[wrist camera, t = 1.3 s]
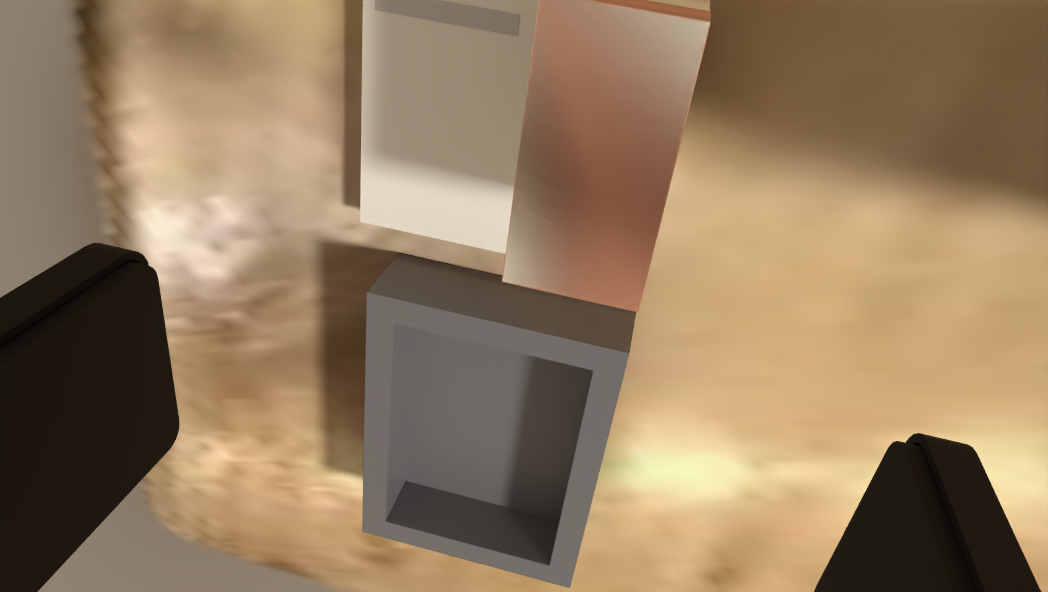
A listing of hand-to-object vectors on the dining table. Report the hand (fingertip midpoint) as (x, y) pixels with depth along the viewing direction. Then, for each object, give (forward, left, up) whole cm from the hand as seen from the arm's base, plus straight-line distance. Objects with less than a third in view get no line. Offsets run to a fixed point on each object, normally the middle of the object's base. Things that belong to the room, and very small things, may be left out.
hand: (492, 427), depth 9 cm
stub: (0, 0, -16) cm, 16 cm away
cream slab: (0, -5, -16) cm, 17 cm away
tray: (+13, -2, -16) cm, 21 cm away
